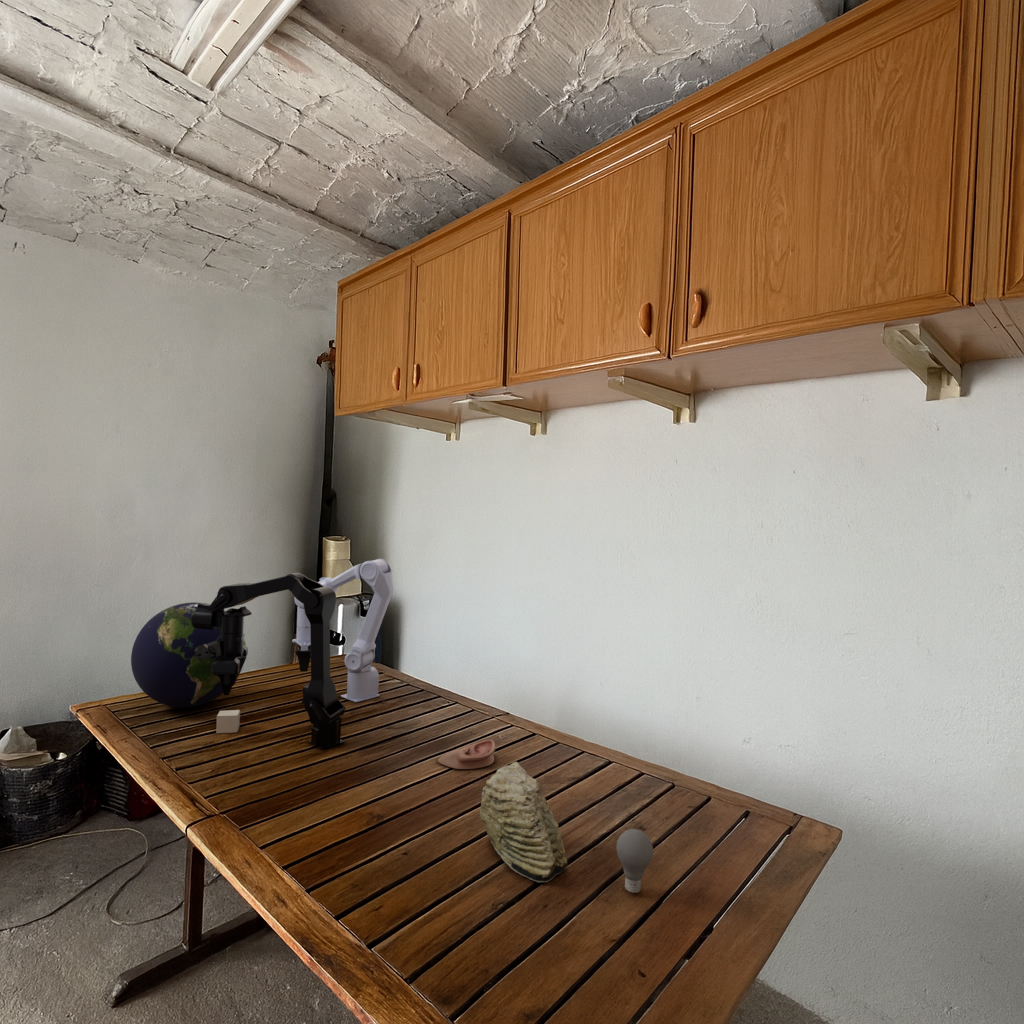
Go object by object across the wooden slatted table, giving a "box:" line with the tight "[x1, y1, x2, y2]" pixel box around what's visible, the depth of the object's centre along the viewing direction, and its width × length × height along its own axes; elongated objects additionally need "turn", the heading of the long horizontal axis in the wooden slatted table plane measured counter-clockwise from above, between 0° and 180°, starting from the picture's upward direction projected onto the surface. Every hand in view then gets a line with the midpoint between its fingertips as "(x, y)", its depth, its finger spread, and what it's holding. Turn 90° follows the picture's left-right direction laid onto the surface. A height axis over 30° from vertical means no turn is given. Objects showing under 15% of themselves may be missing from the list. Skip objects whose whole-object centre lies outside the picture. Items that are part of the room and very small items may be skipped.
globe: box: [130, 601, 247, 708], centre depth 186 cm, size 30×30×30 cm
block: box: [215, 709, 241, 734], centre depth 168 cm, size 4×5×5 cm
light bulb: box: [615, 828, 654, 894], centre depth 106 cm, size 6×6×10 cm
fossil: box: [479, 761, 569, 883], centre depth 114 cm, size 9×18×15 cm, turn 46°
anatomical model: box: [437, 739, 496, 770], centre depth 155 cm, size 13×4×12 cm
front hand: (229, 690), depth 168 cm, fingers open, 9 cm apart
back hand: (304, 668), depth 204 cm, fingers open, 7 cm apart
